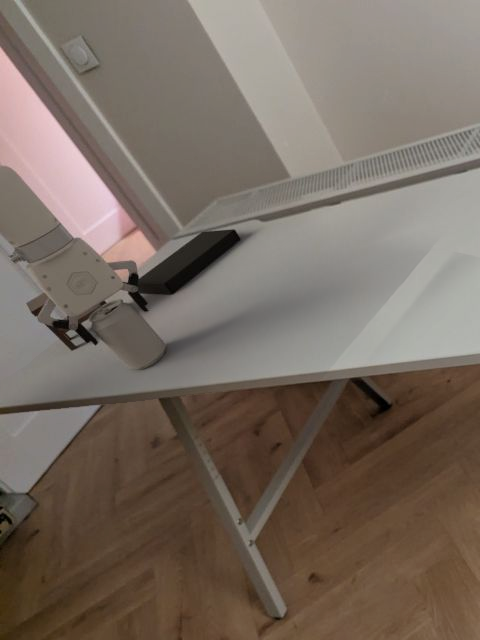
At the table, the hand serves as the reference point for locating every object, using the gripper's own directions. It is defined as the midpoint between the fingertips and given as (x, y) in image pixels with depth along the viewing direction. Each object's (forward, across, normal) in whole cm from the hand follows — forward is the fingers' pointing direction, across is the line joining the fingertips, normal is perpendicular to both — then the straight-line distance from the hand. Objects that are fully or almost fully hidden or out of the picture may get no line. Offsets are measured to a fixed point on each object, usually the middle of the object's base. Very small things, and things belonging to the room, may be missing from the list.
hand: (121, 325), depth 97 cm
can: (+8, 0, 0) cm, 8 cm away
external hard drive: (+8, +21, +34) cm, 41 cm away
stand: (+8, -5, +34) cm, 35 cm away
